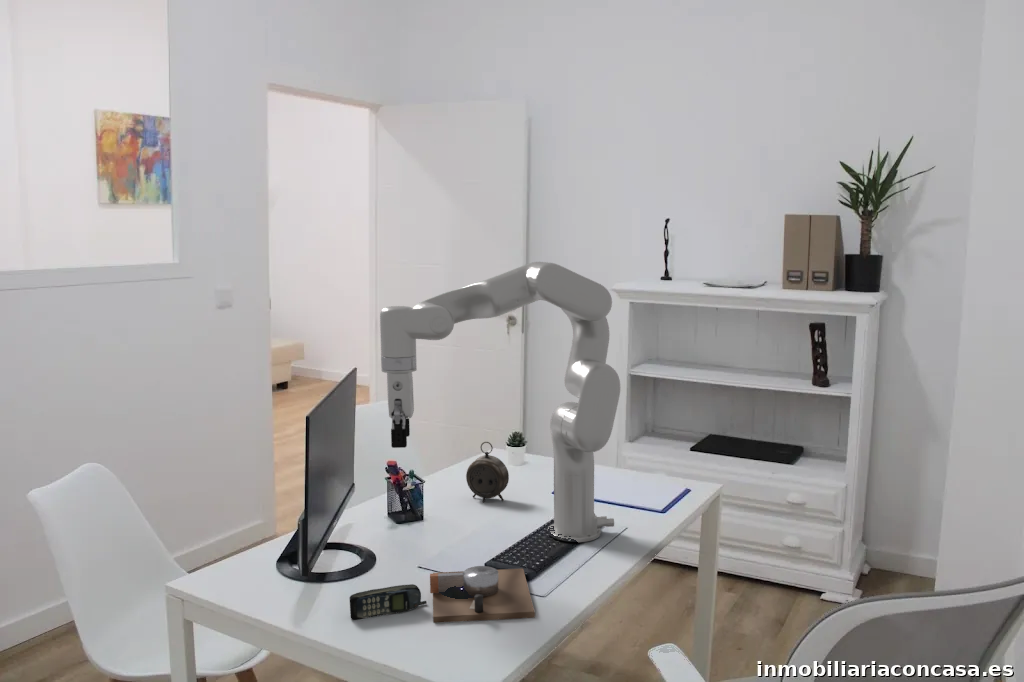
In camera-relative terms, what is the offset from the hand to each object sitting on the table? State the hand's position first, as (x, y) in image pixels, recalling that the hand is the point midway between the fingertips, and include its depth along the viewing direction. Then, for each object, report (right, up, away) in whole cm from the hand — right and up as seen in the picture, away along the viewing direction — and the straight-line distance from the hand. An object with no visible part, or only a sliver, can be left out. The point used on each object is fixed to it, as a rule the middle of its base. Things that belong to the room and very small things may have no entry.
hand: (400, 441), depth 193 cm
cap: (+15, -27, -17) cm, 36 cm away
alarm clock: (+17, -21, +44) cm, 52 cm away
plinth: (+18, -29, -17) cm, 38 cm away
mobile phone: (+1, -30, -23) cm, 38 cm away
